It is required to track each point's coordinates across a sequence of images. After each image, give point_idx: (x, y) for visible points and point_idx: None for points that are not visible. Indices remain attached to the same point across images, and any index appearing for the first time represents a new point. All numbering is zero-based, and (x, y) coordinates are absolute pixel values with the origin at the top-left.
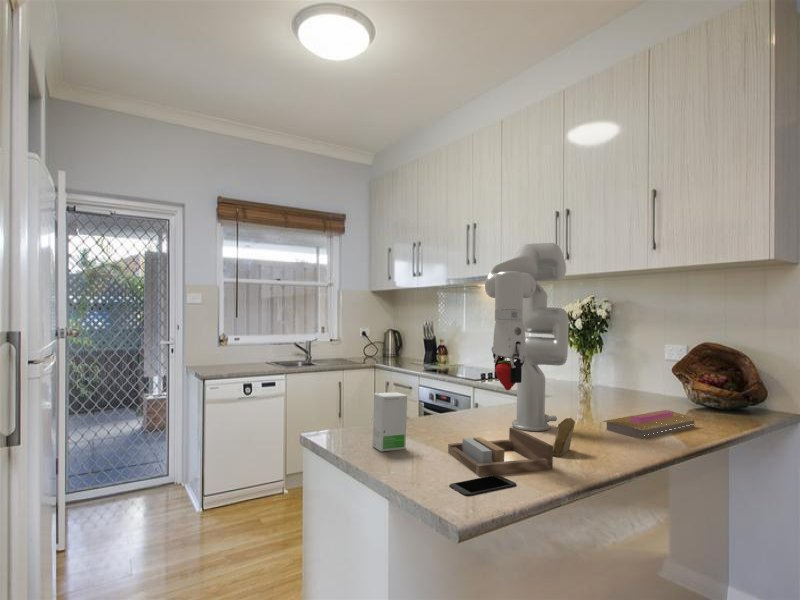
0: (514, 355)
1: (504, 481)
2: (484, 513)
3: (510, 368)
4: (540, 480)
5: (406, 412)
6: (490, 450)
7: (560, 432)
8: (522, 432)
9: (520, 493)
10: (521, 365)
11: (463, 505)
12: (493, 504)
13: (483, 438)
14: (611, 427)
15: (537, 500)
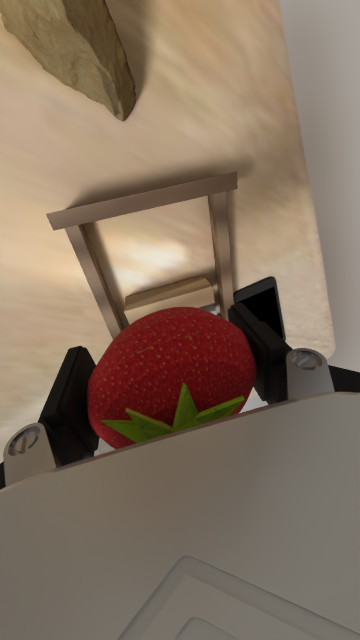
0: (143, 452)
1: (261, 292)
2: (325, 331)
3: (271, 402)
4: (263, 230)
5: (99, 453)
6: (213, 312)
7: (97, 42)
8: (106, 207)
9: (296, 279)
10: (336, 371)
11: (302, 346)
12: (311, 319)
13: (133, 309)
14: None
15: (322, 265)
